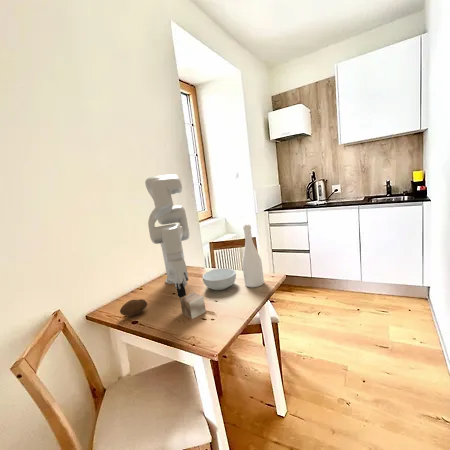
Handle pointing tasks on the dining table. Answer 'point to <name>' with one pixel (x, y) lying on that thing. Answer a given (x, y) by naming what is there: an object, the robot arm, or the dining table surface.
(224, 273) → the cereal bowl
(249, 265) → the wine bottle
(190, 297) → the cube
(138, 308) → the potato
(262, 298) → the dining table surface
